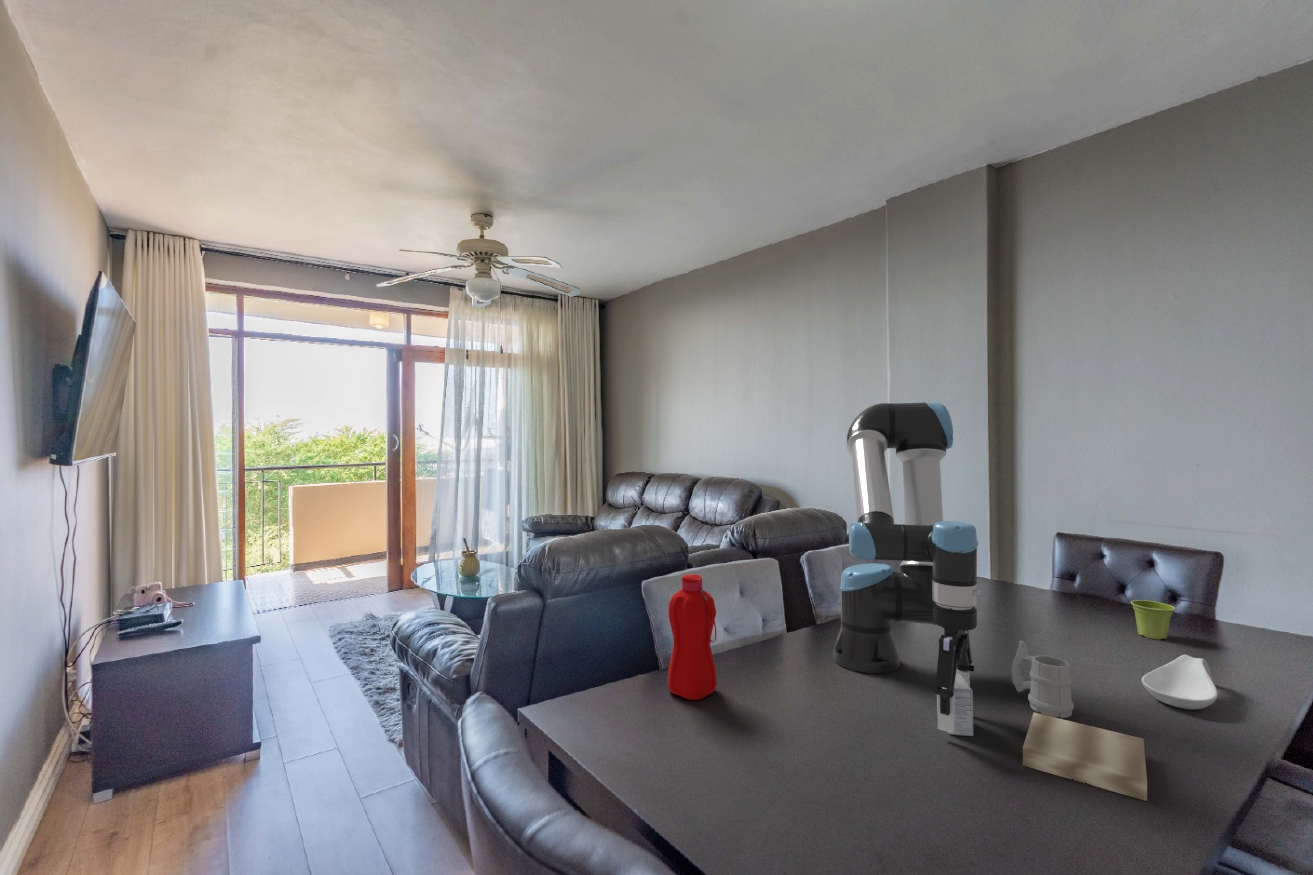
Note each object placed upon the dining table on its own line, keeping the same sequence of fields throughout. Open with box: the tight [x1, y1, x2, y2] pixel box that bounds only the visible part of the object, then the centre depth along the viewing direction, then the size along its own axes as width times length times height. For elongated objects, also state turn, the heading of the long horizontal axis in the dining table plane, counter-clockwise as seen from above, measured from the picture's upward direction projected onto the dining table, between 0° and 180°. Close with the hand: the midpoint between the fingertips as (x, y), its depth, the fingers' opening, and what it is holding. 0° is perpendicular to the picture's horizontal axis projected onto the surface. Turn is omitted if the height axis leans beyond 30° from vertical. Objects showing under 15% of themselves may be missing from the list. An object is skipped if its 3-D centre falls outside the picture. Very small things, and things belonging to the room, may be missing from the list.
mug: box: [1011, 640, 1075, 719], centre depth 122 cm, size 8×12×12 cm, turn 25°
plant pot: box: [1130, 599, 1176, 640], centre depth 164 cm, size 9×9×9 cm
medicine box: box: [936, 674, 974, 737], centre depth 113 cm, size 8×4×9 cm, turn 168°
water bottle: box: [667, 573, 717, 701], centre depth 128 cm, size 9×11×25 cm
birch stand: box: [1022, 712, 1148, 802], centre depth 101 cm, size 16×16×3 cm
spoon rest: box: [1141, 654, 1219, 710], centre depth 127 cm, size 24×12×7 cm, turn 129°
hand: (954, 716), depth 113 cm, fingers open, 13 cm apart
